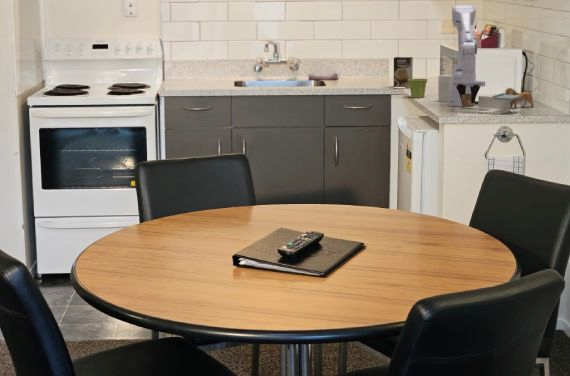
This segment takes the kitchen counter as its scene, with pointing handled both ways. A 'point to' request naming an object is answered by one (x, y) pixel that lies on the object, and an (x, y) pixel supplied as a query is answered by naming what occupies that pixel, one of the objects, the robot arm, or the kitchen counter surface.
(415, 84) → the plant pot
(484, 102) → the puzzle board
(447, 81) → the skincare box
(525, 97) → the lion figurine
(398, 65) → the coffee box
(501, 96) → the cover
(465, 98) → the block
